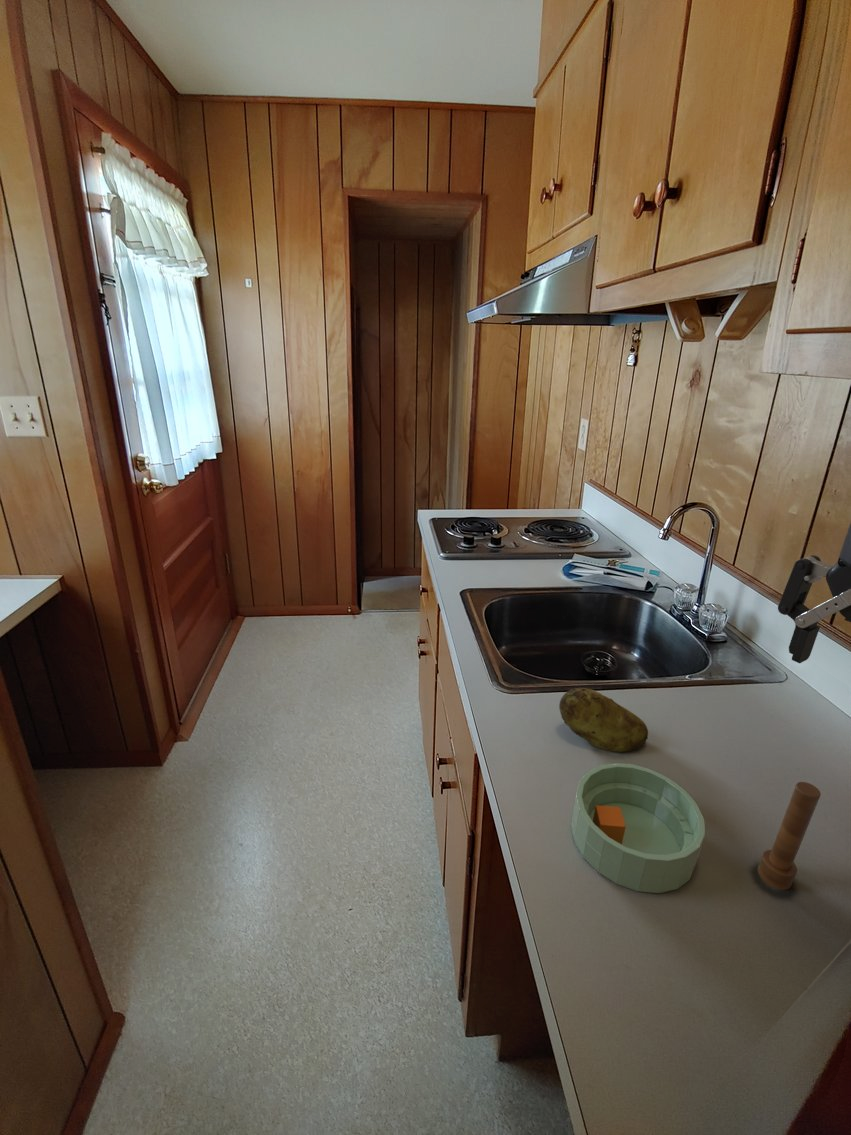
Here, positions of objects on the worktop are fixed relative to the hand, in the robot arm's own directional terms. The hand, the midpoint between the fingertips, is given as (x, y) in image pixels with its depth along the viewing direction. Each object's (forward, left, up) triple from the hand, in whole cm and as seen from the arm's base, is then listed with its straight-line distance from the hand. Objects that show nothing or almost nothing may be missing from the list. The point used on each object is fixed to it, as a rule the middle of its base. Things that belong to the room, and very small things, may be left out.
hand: (847, 681), depth 52 cm
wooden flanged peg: (-1, 0, -28) cm, 28 cm away
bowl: (+9, -12, -28) cm, 32 cm away
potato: (-2, -27, -28) cm, 39 cm away
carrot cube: (+11, -14, -27) cm, 33 cm away
